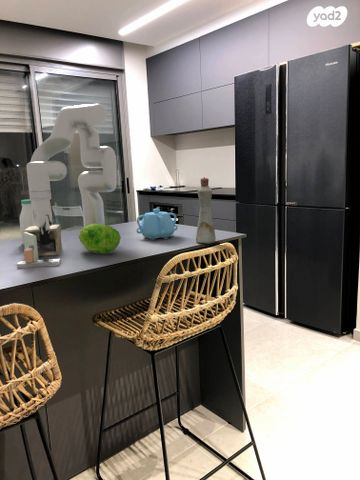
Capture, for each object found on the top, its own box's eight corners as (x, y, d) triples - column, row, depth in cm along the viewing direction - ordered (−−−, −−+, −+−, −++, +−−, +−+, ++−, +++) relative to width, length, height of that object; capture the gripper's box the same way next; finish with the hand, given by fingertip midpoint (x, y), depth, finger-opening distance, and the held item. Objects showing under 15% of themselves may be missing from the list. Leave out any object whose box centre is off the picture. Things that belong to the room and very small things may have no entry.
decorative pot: (154, 233, 195) (153, 206, 192) (181, 235, 186) (180, 207, 183) (133, 239, 182) (131, 210, 179) (161, 242, 173) (159, 211, 170)
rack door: (38, 261, 144) (35, 234, 142) (32, 262, 142) (29, 235, 140) (27, 255, 153) (24, 230, 151) (21, 256, 152) (19, 231, 150)
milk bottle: (34, 245, 174) (29, 200, 170) (18, 245, 176) (13, 200, 172) (43, 241, 182) (38, 198, 178) (28, 241, 183) (23, 199, 179)
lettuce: (97, 246, 168) (95, 219, 166) (129, 254, 152) (127, 224, 149) (70, 251, 159) (68, 223, 157) (101, 260, 143) (98, 229, 141)
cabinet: (62, 249, 165) (59, 224, 163) (58, 254, 155) (56, 228, 153) (32, 250, 163) (29, 226, 161) (27, 256, 153) (24, 230, 151)
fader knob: (34, 260, 140) (32, 247, 139) (32, 262, 137) (31, 249, 136) (27, 260, 139) (25, 248, 138) (25, 262, 136) (23, 249, 135)
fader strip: (60, 262, 142) (60, 258, 142) (58, 265, 138) (58, 261, 138) (20, 265, 140) (19, 261, 139) (17, 268, 136) (16, 264, 136)
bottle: (191, 243, 167) (190, 177, 162) (200, 239, 175) (199, 176, 169) (210, 245, 163) (209, 177, 158) (218, 241, 171) (217, 176, 165)
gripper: (24, 195, 147) (29, 242, 151) (36, 197, 136) (41, 248, 139) (43, 194, 152) (48, 240, 156) (57, 195, 140) (62, 245, 144)
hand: (45, 244), depth 147 cm, fingers closed
